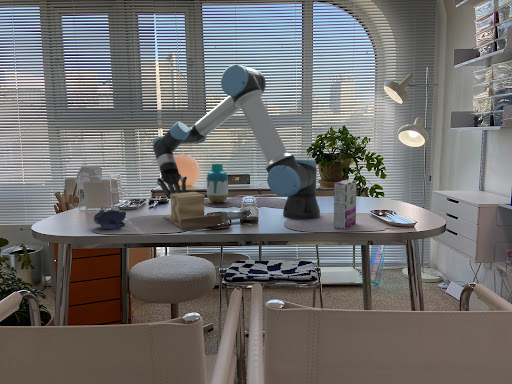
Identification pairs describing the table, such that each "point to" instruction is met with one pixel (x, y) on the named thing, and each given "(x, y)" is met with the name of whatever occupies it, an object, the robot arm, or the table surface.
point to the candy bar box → (344, 203)
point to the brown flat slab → (196, 221)
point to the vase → (217, 184)
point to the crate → (186, 205)
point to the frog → (110, 218)
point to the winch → (234, 215)
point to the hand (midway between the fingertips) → (181, 210)
